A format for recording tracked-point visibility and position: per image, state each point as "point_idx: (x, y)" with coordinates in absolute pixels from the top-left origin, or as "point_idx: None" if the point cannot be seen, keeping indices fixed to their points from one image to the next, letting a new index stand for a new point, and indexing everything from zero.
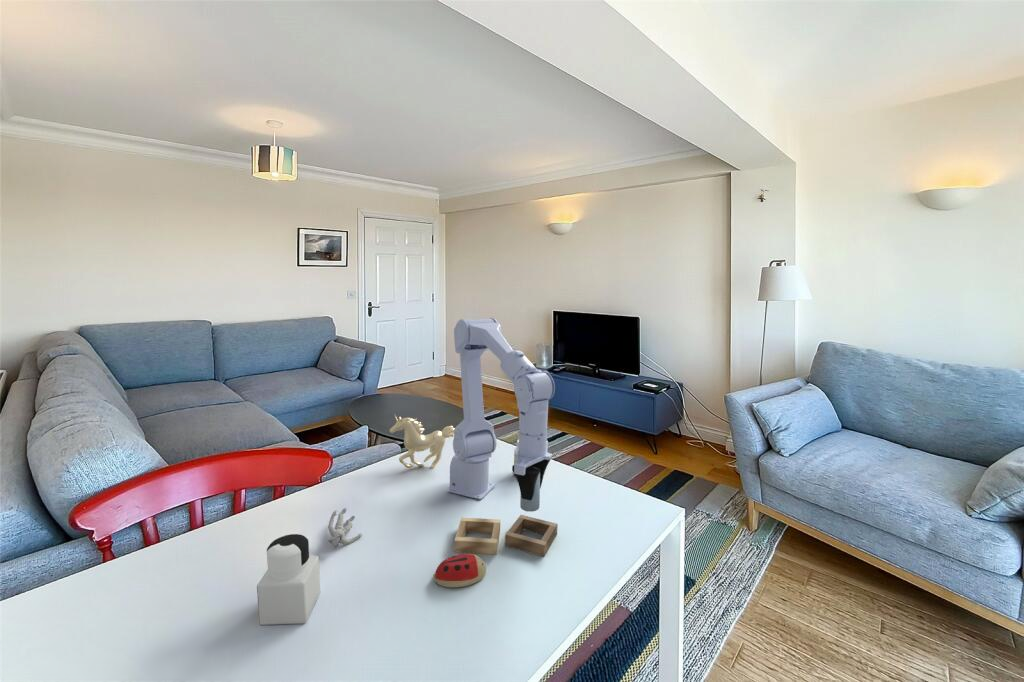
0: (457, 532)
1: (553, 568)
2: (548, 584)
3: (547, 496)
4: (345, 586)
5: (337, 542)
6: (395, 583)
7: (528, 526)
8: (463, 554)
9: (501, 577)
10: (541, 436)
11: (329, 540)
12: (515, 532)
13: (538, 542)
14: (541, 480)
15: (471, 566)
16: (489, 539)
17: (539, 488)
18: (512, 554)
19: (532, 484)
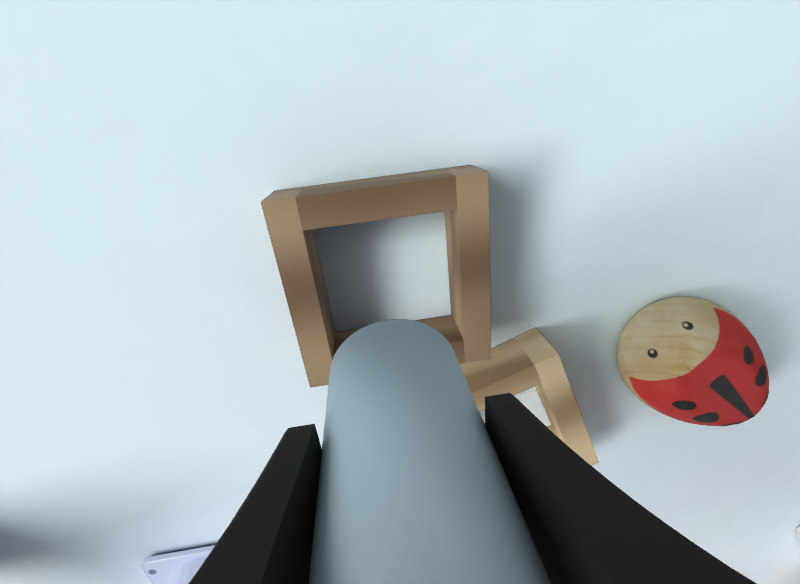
0: None
1: (528, 86)
2: (639, 57)
3: (3, 382)
4: (767, 511)
5: None
6: (740, 452)
7: (329, 322)
8: (696, 400)
9: (649, 247)
10: None
11: None
12: None
13: (479, 210)
14: (284, 507)
15: (737, 345)
16: (549, 385)
17: (396, 437)
18: (511, 283)
19: (686, 546)
